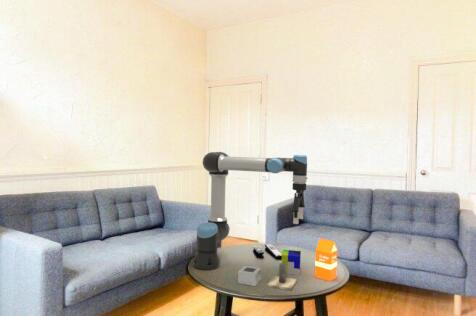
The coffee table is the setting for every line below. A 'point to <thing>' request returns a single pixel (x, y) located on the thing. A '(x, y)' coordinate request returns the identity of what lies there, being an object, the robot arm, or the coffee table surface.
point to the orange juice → (326, 260)
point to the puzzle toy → (291, 261)
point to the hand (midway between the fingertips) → (298, 221)
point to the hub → (249, 275)
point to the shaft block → (282, 279)
